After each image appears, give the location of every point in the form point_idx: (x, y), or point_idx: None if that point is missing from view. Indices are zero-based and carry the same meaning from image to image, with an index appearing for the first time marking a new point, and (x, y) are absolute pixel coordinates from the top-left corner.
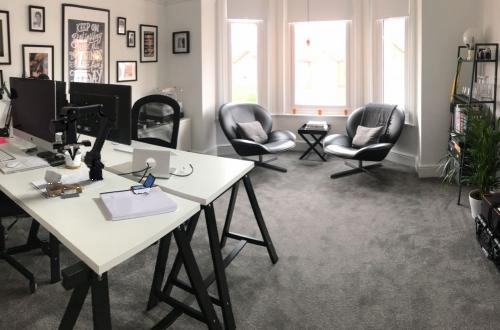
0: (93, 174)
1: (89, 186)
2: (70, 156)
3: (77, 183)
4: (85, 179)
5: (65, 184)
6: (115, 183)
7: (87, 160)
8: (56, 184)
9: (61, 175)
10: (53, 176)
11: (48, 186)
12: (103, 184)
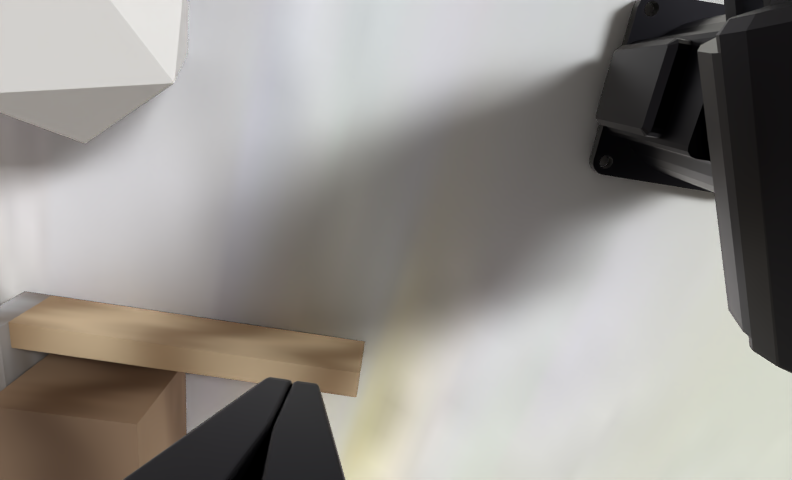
0: (671, 164)
1: (468, 373)
2: (164, 471)
3: (340, 392)
4: (561, 24)
5: (205, 366)
6: (739, 417)
7: (780, 207)
8: (73, 474)
9: (167, 84)
10: (28, 120)
11: (4, 385)
12: (621, 384)
